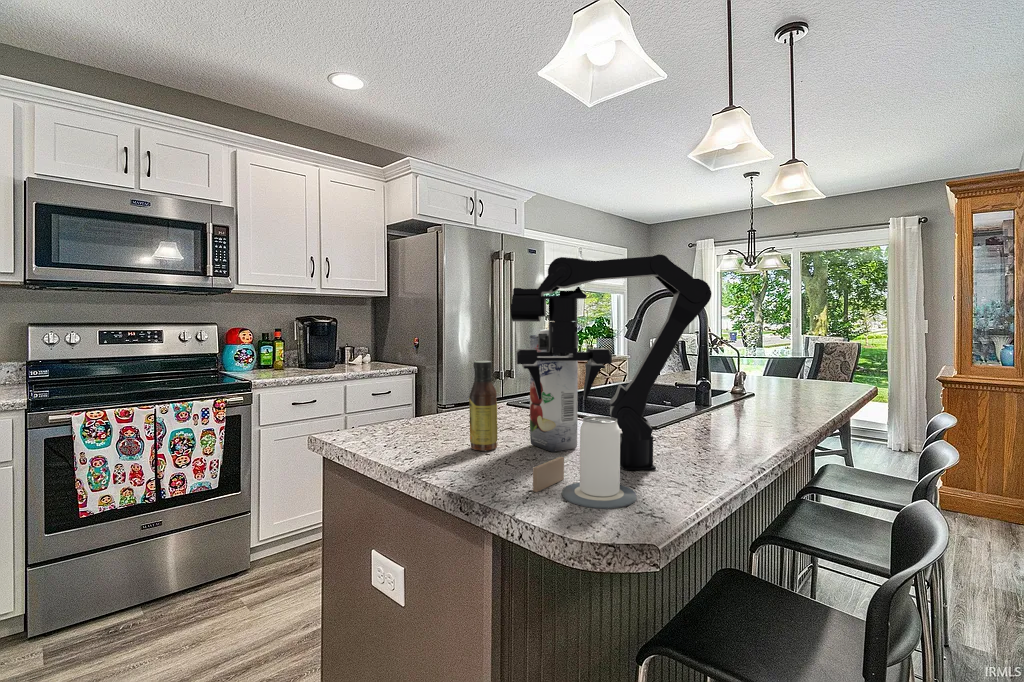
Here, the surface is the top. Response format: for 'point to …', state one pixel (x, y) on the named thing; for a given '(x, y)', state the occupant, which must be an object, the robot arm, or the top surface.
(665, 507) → the top surface
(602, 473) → the can
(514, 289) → the robot arm
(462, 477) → the top surface
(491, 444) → the sauce bottle
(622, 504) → the slate plate
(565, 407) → the juice carton
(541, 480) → the brown wall
